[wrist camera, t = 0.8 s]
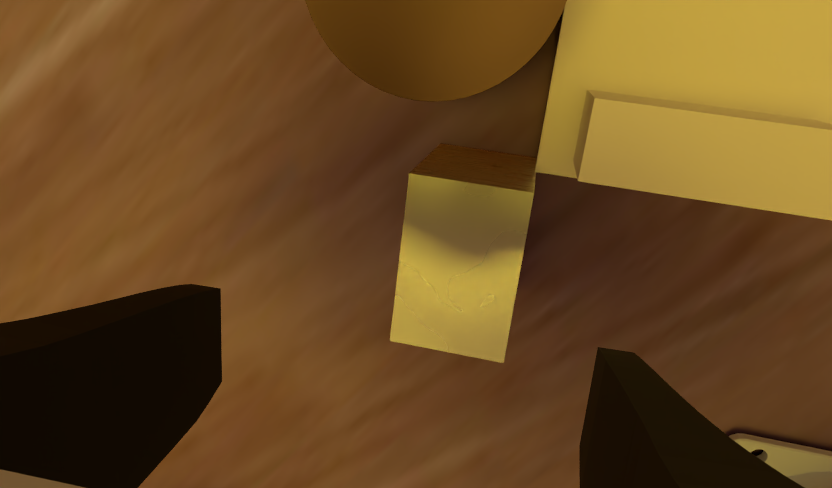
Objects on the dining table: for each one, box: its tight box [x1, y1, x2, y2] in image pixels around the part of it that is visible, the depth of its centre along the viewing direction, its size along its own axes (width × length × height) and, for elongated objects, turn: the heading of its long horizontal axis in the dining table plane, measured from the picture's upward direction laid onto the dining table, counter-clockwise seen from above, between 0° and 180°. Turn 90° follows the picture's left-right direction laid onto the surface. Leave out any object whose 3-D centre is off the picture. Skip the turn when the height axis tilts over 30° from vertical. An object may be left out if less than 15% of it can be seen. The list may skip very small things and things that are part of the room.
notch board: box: [536, 0, 832, 220], centre depth 16 cm, size 8×10×4 cm
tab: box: [390, 143, 537, 363], centre depth 18 cm, size 3×4×5 cm, turn 173°
